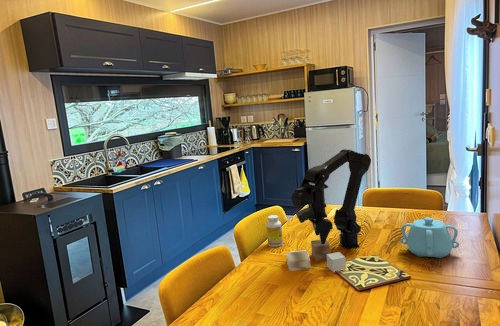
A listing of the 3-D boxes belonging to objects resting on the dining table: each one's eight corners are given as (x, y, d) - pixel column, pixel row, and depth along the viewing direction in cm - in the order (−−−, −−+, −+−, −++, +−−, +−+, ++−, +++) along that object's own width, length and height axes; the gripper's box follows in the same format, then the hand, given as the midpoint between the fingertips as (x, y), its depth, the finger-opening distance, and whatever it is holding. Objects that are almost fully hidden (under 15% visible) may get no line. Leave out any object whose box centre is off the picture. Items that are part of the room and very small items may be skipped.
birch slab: (307, 260, 144) (306, 251, 144) (310, 269, 136) (310, 259, 136) (286, 262, 144) (286, 252, 144) (289, 271, 136) (288, 261, 136)
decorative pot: (432, 241, 150) (432, 209, 148) (464, 256, 134) (463, 220, 132) (397, 248, 146) (396, 216, 144) (425, 265, 131) (424, 228, 129)
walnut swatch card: (306, 250, 153) (305, 249, 153) (309, 257, 146) (309, 256, 146) (289, 252, 153) (289, 251, 153) (292, 259, 146) (292, 258, 146)
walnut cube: (326, 253, 149) (325, 239, 148) (330, 259, 143) (329, 244, 142) (312, 254, 149) (310, 240, 148) (315, 261, 143) (314, 246, 142)
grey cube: (339, 264, 138) (338, 251, 137) (346, 270, 133) (345, 257, 132) (327, 267, 137) (326, 254, 136) (333, 272, 132) (332, 259, 131)
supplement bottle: (282, 247, 159) (279, 218, 157) (266, 247, 160) (264, 219, 158) (283, 241, 165) (281, 213, 163) (269, 241, 167) (266, 214, 165)
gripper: (292, 197, 151) (295, 233, 153) (301, 210, 132) (304, 251, 135) (319, 194, 151) (322, 230, 154) (331, 207, 133) (334, 247, 135)
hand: (320, 239), depth 145 cm, fingers open, 9 cm apart
